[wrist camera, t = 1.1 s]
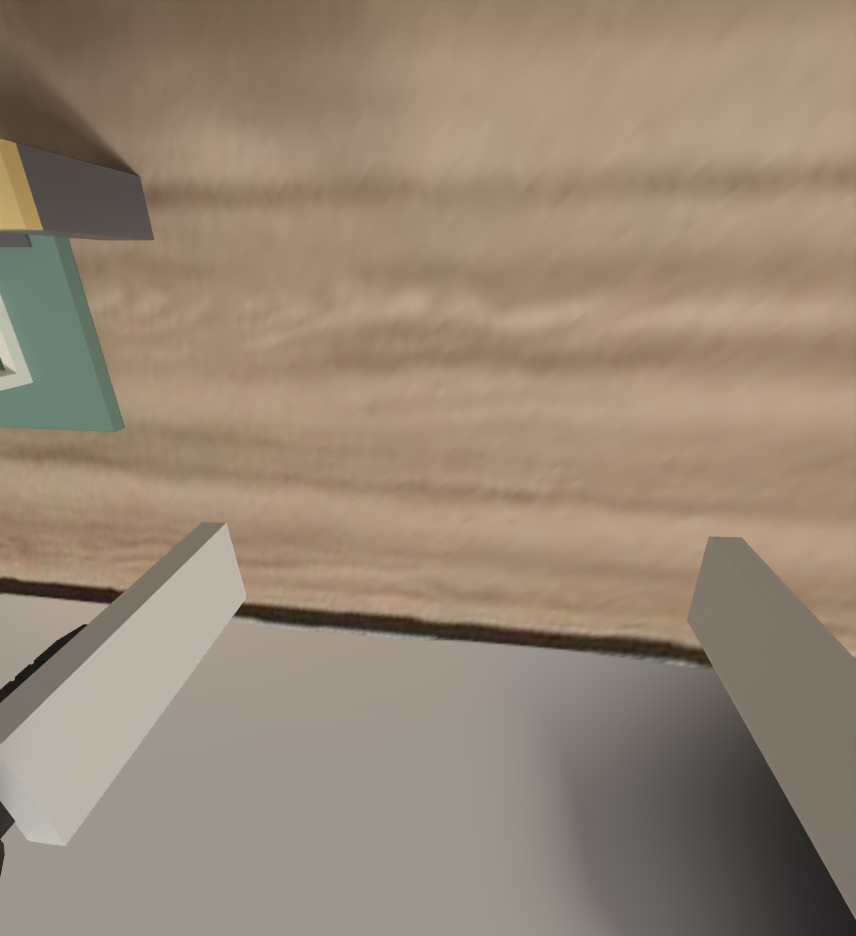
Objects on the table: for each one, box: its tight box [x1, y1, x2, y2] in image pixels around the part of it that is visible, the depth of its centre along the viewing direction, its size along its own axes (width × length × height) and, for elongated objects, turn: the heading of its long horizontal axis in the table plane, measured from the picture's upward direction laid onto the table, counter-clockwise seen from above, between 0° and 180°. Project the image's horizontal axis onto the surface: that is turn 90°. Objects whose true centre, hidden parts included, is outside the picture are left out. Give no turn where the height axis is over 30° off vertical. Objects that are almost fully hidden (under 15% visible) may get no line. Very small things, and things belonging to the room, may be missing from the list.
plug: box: [0, 139, 154, 240], centre depth 27 cm, size 4×4×10 cm
